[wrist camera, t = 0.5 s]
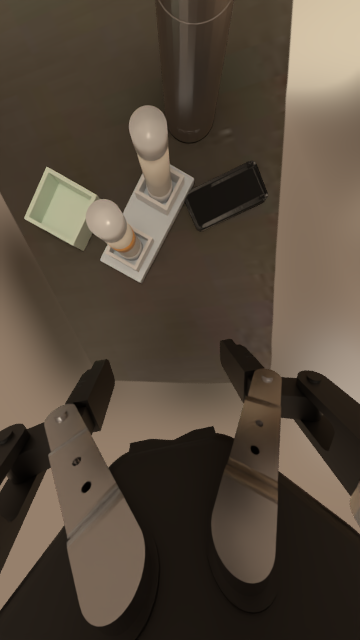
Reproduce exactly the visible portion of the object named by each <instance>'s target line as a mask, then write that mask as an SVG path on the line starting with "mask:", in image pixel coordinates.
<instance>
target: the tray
mask: <svg viewBox="0 0 360 640" xmlns="http://www.w3.org/2000/svg"><path fill="white" fill-rule="evenodd" d="M97 200H100V199H99V197H98V196H97V195H96V194H94V193H92V192H90V191H89V190H87V189H85V188H83V187H82V186H80V185H78V184H76V183H75V182H73V181H71V180H69V179H68V178H66V177H64V176H62V175H61V174H59V173H57V172H55V171H53V170H52V169H50V168H48V167H46V169H45V172H44V174H43V176H42V179H41V181H40V183H39V185H38V188H37V190H36V192H35V195H34V197H33V199H32V201H31V204H30V206H29V208H28V211H27V213H26V215H25V217H24V219H26V220H28V221H29V222H31V223H33V224H35V225H37V226H38V227H40V228H42V229H44V230H46V231H47V232H49V233H51V234H53V235H55V236H56V237H58V238H60V239H62V240H64V241H66V242H67V243H69V244H71V245H73V246H75V247H76V248H78V249H80V250H82V251H84V250H85V248H86V246H87V244H88V241H89V239H90V237H91V235H92V232H91V231H90V229H89V228H88V226H87V223H86V212H87V209H88V208H89V206H90V205H91V204H92V203H93V202H95V201H97Z"/></svg>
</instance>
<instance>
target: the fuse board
mask: <svg viewBox="0 0 360 640" xmlns="http://www.w3.org/2000/svg"><path fill="white" fill-rule="evenodd" d="M170 172H171V180H172V188H173V192H172V194H171V196H170V198H169V200H168V202H166V203H164V204H161V203H160V202H158V201H156V200H155V199H153V198H151V197H150V196H149V193H148V190H147V186H146V181H145V178H144V175H143V173H142V175H141V178H140V180H139V182H138V184H137V186H136V188H135V190H134V192H133V194H132V196H131V198H130V200H129V202H128V204H127V206H126V208H125V210H124V212H123V215H124V217H125V219H126V221H127V222H128V224H129V225H130V226H131V228H132V229H133V231H134V233H135V234H136V236H137V237H138V238H139V239H140V241H141V242H142V244H143V250H142V252H141V254H140V256H139V258H138V259H137V260H134V261H129V260H127V259H125V258H124V257H123V256H121V255H120V254H119V253H118V252H117V251H116V250H114V249H113V248H112V247H110V246H109V245H107V247H106V249H105V251H104V253H103V255H102V257H101V259H100V261H102V262H104V263H105V264H107V265H109V266H111V267H113V268H115V269H116V270H118V271H120V272H122V273H124V274H125V275H127V276H129V277H131V278H133V279H134V280H136V281H138V282H140V283H142V282H143V280H144V279H145V277H146V275H147V273H148V271H149V269H150V267H151V265H152V263H153V261H154V259H155V257H156V256H157V254H158V252H159V250H160V248H161V246H162V244H163V242H164V240H165V238H166V236H167V234H168V232H169V231H170V229H171V227H172V225H173V223H174V221H175V219H176V217H177V215H178V213H179V211H180V209H181V208H182V206H183V204H184V202H185V198H186V196H187V194H188V192H189V190H191V188H192V186H193V184H194V178H193V177H191V176H189V175H187V174H186V173H184V172H182V171H181V170H179V169H177V168H175V167H174V166H172V165H170Z"/></svg>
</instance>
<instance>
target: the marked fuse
mask: <svg viewBox="0 0 360 640" xmlns="http://www.w3.org/2000/svg"><path fill="white" fill-rule="evenodd" d="M86 223H87V226H88V228H89V229H90V231H91V232H92V233H94V234H95V235H96V236H97V237H99V238H100V239H101V240H103V241H105V242H106V243H107V244H108V245H109V246H110V247H112V248H113V249H114V250H116V251H117V252H118V253H119V254H120V255H121V256H123V257H124V258H125V259H127V260H129V261H134V260H137V259H138V258H139V256H140V254H141V252H142V250H143V244H142V242H141V241H140V239H139V238H138V237H137V236H136V234H135V233H134V231H133V229H132V228H131V226H130V225H129V224H128V222H127V221H126V219H125V217H124V215H123V214H122V212H121V211H120V209H119V208H118V206H117V205H116V204H115V203H114V202H112V201H110V200H107V199H100V200H97V201H95V202H93V203H92V204H91V205H90V206H89V208H88V209H87V212H86Z"/></svg>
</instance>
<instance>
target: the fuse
mask: <svg viewBox="0 0 360 640" xmlns="http://www.w3.org/2000/svg"><path fill="white" fill-rule="evenodd" d="M129 131H130V135H131V138H132V141H133V145H134V148H135V150H136V152H137V155H138V158H139V162H140V165H141V168H142V172H143V175H144V178H145V181H146V186H147V190H148V193H149V196H150V197H151V198H153V199H155V200H156V201H158V202H160V203H161V204H164V203H166V202H168V200H169V198H170V196H171V194H172V192H173V188H172V180H171V172H170V161H169V151H168V131H167V122H166V118H165V116H164V114H163V113H162V112H161V111H160V110H159V109H158V108H156V107H154V106H149V105H146V106H142V107H140V108H138V109H137V110H136V111H135V112H134V113H133V114H132V116H131V118H130V121H129Z"/></svg>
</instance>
